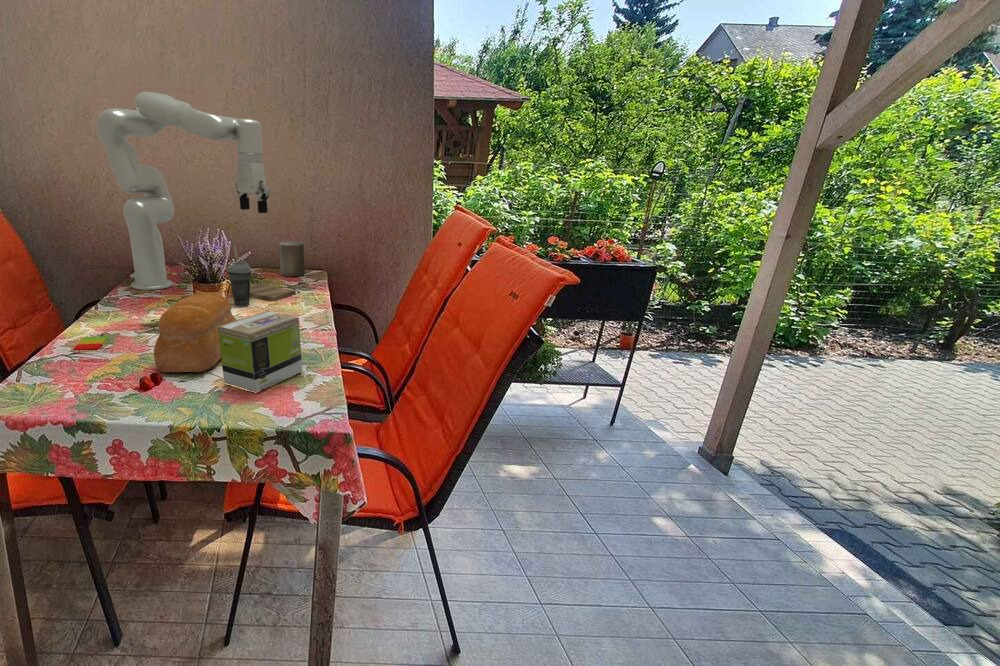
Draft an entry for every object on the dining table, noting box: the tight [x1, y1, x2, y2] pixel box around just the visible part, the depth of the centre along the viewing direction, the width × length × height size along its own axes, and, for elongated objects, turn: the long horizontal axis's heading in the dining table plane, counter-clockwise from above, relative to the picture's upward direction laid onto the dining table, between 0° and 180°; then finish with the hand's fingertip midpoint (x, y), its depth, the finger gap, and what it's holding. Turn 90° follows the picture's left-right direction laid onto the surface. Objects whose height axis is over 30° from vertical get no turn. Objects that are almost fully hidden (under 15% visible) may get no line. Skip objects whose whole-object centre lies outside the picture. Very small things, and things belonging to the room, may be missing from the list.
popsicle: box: [72, 336, 109, 351], centre depth 139 cm, size 6×15×2 cm, turn 22°
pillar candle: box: [278, 239, 306, 278], centre depth 225 cm, size 10×10×15 cm
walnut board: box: [250, 283, 297, 302], centre depth 195 cm, size 18×12×2 cm, turn 71°
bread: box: [153, 292, 237, 373], centre depth 135 cm, size 14×26×15 cm, turn 9°
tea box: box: [218, 310, 303, 392], centre depth 124 cm, size 15×10×15 cm, turn 157°
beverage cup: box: [227, 245, 252, 308], centre depth 177 cm, size 7×7×20 cm
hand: (253, 211), depth 182 cm, fingers open, 9 cm apart
